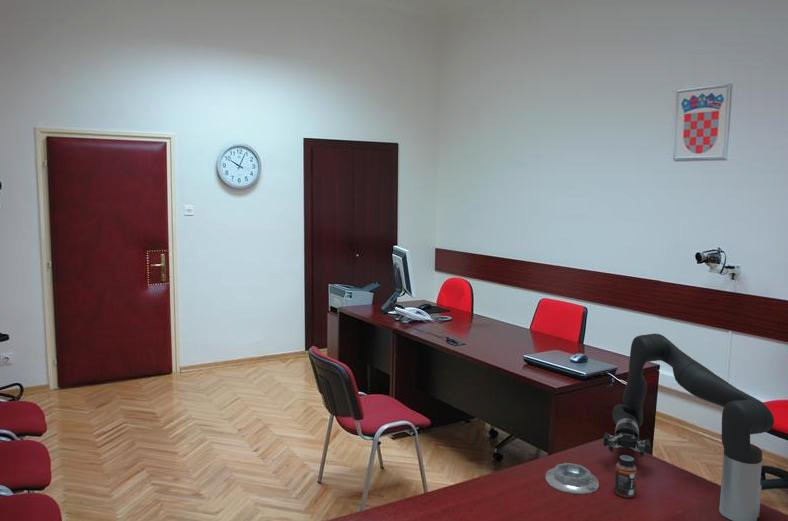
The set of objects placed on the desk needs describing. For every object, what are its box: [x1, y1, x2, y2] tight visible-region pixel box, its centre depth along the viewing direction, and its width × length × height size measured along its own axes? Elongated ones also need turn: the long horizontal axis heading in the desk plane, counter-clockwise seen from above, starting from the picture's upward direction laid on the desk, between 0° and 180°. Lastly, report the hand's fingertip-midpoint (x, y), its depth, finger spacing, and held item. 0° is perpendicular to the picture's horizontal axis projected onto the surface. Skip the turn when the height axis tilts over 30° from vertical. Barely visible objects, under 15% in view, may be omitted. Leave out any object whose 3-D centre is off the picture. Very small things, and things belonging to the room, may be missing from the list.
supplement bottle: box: [614, 454, 638, 499], centre depth 174 cm, size 6×6×11 cm
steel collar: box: [545, 462, 600, 495], centre depth 182 cm, size 16×16×4 cm
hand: (626, 451), depth 185 cm, fingers open, 8 cm apart
